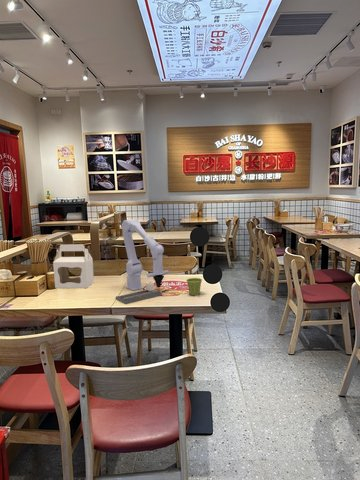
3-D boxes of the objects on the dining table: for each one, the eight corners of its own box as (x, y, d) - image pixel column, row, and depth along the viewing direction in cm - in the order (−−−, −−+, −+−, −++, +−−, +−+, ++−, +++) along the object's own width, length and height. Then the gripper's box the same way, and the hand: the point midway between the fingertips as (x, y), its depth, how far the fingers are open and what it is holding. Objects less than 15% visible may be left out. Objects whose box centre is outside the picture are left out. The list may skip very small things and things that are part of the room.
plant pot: (188, 297, 195) (188, 282, 194) (185, 292, 204) (184, 278, 203) (204, 295, 197) (203, 281, 195) (200, 291, 206) (199, 277, 205)
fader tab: (146, 291, 202) (146, 283, 202) (150, 290, 204) (150, 282, 203) (150, 292, 199) (149, 284, 198) (154, 291, 201) (154, 283, 200)
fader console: (115, 299, 195) (115, 295, 194) (150, 291, 209) (150, 287, 209) (125, 304, 185) (125, 299, 185) (161, 295, 199) (161, 291, 199)
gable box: (94, 282, 232) (91, 242, 228) (87, 288, 219) (84, 245, 215) (63, 282, 234) (60, 243, 230) (54, 288, 221) (51, 246, 217)
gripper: (151, 268, 195) (152, 290, 197) (171, 264, 204) (172, 286, 206) (144, 266, 201) (145, 288, 203) (164, 262, 210) (165, 283, 212)
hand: (158, 287), depth 205 cm, fingers closed
